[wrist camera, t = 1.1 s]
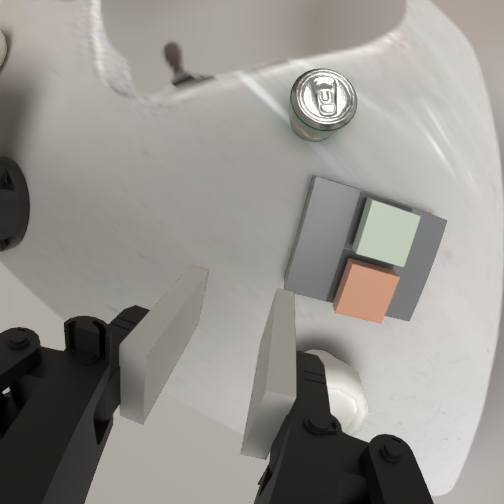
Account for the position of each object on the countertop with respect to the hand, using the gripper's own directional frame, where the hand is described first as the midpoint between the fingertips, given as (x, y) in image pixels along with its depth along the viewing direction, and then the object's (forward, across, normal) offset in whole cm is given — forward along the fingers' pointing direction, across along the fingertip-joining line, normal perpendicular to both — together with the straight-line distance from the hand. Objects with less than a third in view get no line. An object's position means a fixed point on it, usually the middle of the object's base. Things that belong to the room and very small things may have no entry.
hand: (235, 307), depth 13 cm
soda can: (+23, +2, +12) cm, 26 cm away
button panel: (+23, +11, 0) cm, 25 cm away
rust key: (+17, +11, -3) cm, 21 cm away
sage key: (+17, +11, +3) cm, 21 cm away
